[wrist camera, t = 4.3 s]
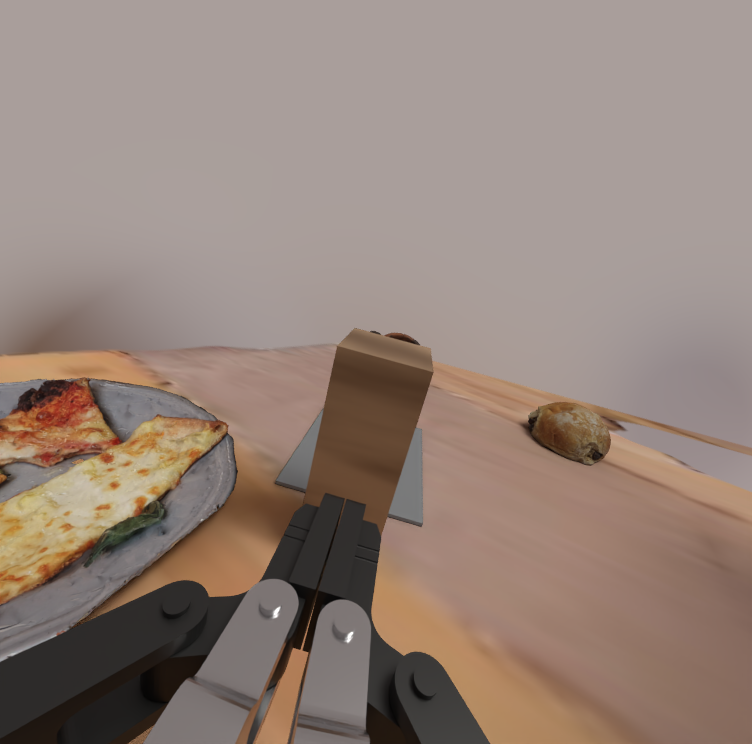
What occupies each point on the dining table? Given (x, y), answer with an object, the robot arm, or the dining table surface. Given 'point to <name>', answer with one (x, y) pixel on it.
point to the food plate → (96, 494)
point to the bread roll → (571, 431)
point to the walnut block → (369, 421)
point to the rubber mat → (408, 489)
